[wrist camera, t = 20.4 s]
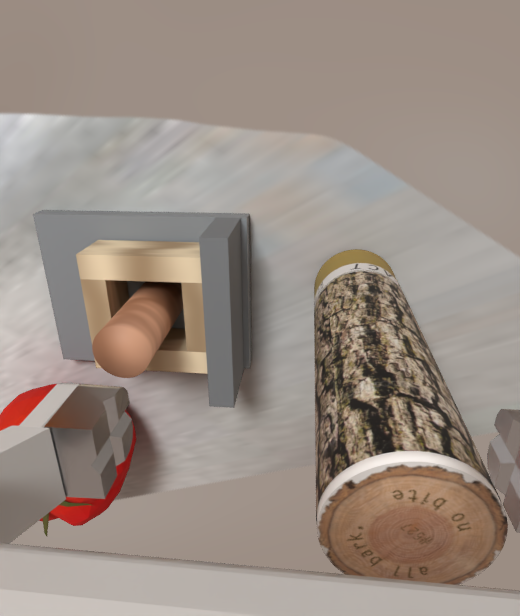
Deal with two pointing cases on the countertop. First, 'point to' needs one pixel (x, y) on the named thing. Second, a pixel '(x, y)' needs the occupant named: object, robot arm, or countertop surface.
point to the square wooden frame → (156, 268)
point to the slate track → (144, 227)
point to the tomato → (72, 507)
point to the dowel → (138, 329)
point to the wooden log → (392, 439)
